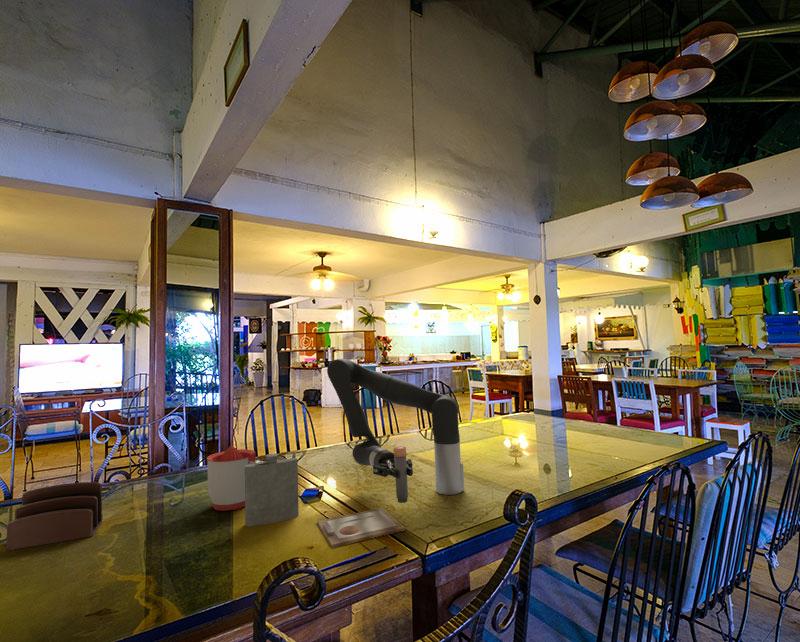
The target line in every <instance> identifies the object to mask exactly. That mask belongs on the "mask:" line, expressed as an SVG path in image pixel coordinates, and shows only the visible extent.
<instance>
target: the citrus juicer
mask: <svg viewBox="0 0 800 642" xmlns="http://www.w3.org/2000/svg"><path fill="white" fill-rule="evenodd" d="M256 455H257V454H256V451H255V450H253V449H247V448H245V449H243V448H242V449H237V447H235V446H233V445H229V447H228V448H227V449H226V450H224V451H219V452H215V453H212V454H210V455H208V456H207V457H206V461H207V492H208V494H209V495H208V496H209V499H210V503H211V505H212V507H213V509H214V510H216V511H223V512H224V511H232V510H240V509H242V508H245V465H248V464H255V463H256V461H257V459H256Z"/></svg>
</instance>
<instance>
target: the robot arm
mask: <svg viewBox="0 0 800 642" xmlns="http://www.w3.org/2000/svg"><path fill="white" fill-rule="evenodd" d="M326 372H327V376H328V379H329V381H330V383H331V385H332V387H333V389H334V391H335V393H336V395H337V397H338V399H339V402H340V404H341V407H342V409H343V412H344V414H345V418H346V421H347V424H348V427H349V430H350V434H351V436H352V437H353V438H361V437H364V438H366V440H365V441H363V442H359V443H358V444H356V445H354V447H353V449H352V457H353V459H354V460H355V462H356V463H357V464H359V465H361V466H371V467H372V474H373V475H377V476H380V477H385V478H387V477H388V476H389V477H393V478H397V479H398V478H400V472H399V471H398V470H397V469H395V460H394V452H392V451H390V450H388V449H386V448H384V447H381V444H380V443H379V441H378V439H377V438H376V437H375V435H374V433H373V432H372V430H371V428H370V425H369V423H368V419H367V416H366V414H365V411H364V408H363V407H362V405H361V404H360V402H359V400H358V398H357V395H355V392H354V389H353V386H352V385H355V386H358V387H362V388H364V389H366V390H367V391H368V392H370V393H372V394H373V395H374V396H376V397H378V398H380V399H382V400H385V401H387V402H389V403H392V404H395V405H399V406H404V407H410V408H417V409H421V410H423V411H424V412H425V411H426V412H428V413H430V414H431V424H432V425H431V426H432V435H433V446H434V447H433V449H434V472H435V491H436V493H437V494H440V495H445V496H451V495H452V496H453V495H459V494H460V493H462V492H464V491H465V473H464V463H463V462H462V461H461V460H462V459H461V441H460V437H461V436H460V429H459V411H460V406H459V403H458V402H457V400H456V399H455V398H453V396H449V395H447V394H441V393H438V392H433V391H429V390H427V389H425V388H422V387H421V386H418V385H415V384H413V383H411V382H409V381H406V380H404V379H401V378H398V377H395V376H393V375H389V374H387V373H383V372H381V371H375V370H373V369H369V368H367V367H364V366H362V365H360V364H358V363H356V362H355V361H352V360H350V359H347V358H337V359H334V360H332V361H330V362H329V364H328V366H327V369H326ZM406 465H407V477H408V476H409V477H413V475H414V470H413V462H412V459H411V458H408V459H406Z"/></svg>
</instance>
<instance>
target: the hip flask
mask: <svg viewBox="0 0 800 642" xmlns="http://www.w3.org/2000/svg"><path fill="white" fill-rule="evenodd" d="M278 457H279V454H278V453H268V454H265V459H266V460H264V461H263V462H258V463H255V464H248V465H245V506H244V521H245V523H244V525H245V527H257V526H262V525H263V526H264V525H268V524H269V525H270V524H273V523H277V522H282V521H286V520H291V519H293V518H294V519H295V518H297V517H299V515H300V514H299V512H300V511H299V472H298V471H299V467H298V466H299V465H298V462H299V461H298V458H297V457H291V458H286V459H281V460H280V459H278ZM277 459H278V460H279V461H277Z"/></svg>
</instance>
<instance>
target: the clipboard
mask: <svg viewBox="0 0 800 642" xmlns="http://www.w3.org/2000/svg"><path fill="white" fill-rule="evenodd" d="M316 525H317V526H318V528H319V529H320V532H322V534H323V536H324V537H325V539H326V541H327V543H328V544H329V546H330V547H331V548H334V549H335V548H336V547H340V546H341V547H342V546H346V545H350V544H354V543H358V542H361V541H362V540H363V541H366V539H367V540H370V539H369V538H371V539H376V538H379V537H378V536H380V537H383V536H382V535H384V536H388V535H391V534H392V535H393V534H395V533H394V532H397V533H399V532H398V531H401V532H405V531H404V530H406V529H405V527H404V526H403V525H402V524H401V523H400V522H399V521H398V520H397V519H395V517H393V516H392V515H391V514H390V513H389V512H388V511H387V510H385V509H384V508H383V507H378V508H373V509H370V510H364V511H358V512H355V513H351V514H350V513H349V514H346V515H345V514H344V515H340V516H335V517H331V518H330V517H329V518H326V519H325V518H324V519H322V520H321V519H320V520H317V521H316ZM375 537H376V538H375ZM363 541H362V542H363Z"/></svg>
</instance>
